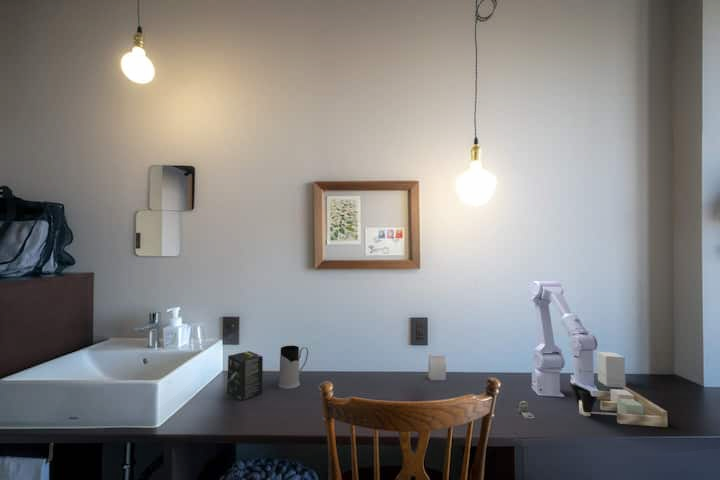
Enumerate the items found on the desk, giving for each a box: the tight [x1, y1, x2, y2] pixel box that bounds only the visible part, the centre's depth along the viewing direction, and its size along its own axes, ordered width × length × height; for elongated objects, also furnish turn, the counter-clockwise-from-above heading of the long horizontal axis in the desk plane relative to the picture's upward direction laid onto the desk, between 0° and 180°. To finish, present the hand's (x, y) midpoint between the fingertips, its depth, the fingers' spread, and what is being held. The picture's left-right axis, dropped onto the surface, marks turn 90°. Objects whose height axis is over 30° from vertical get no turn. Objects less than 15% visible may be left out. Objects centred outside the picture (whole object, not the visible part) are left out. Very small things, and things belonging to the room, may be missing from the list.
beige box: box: [427, 354, 447, 381], centre depth 146 cm, size 4×7×10 cm, turn 90°
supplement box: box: [596, 351, 627, 389], centre depth 142 cm, size 7×7×13 cm
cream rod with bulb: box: [578, 398, 644, 417], centre depth 113 cm, size 18×5×5 cm, turn 82°
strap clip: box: [513, 400, 535, 420], centre depth 115 cm, size 8×3×4 cm, turn 3°
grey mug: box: [277, 345, 309, 390], centre depth 141 cm, size 9×14×15 cm, turn 139°
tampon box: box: [226, 350, 264, 402], centre depth 129 cm, size 11×9×15 cm
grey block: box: [609, 388, 634, 402], centre depth 121 cm, size 5×5×5 cm
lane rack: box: [596, 386, 669, 428], centre depth 117 cm, size 14×20×5 cm
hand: (584, 409), depth 114 cm, fingers closed on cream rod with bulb, 3 cm apart
